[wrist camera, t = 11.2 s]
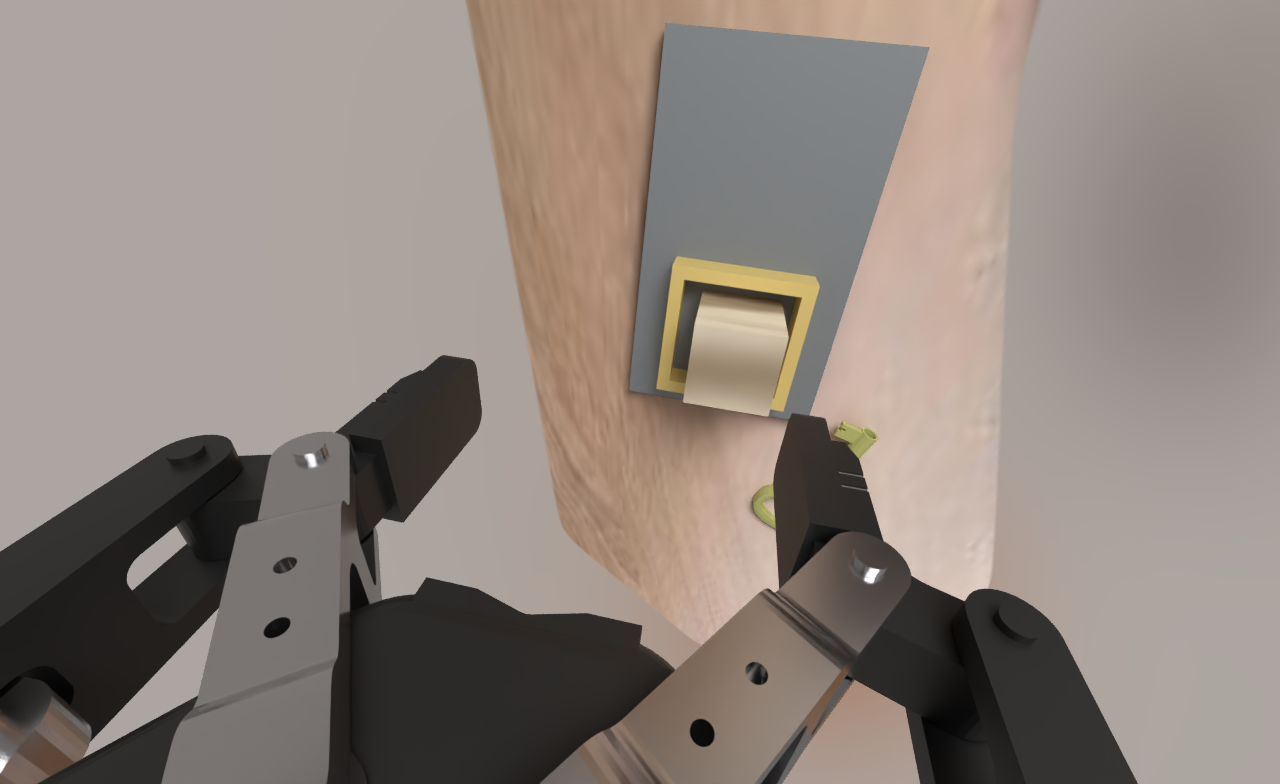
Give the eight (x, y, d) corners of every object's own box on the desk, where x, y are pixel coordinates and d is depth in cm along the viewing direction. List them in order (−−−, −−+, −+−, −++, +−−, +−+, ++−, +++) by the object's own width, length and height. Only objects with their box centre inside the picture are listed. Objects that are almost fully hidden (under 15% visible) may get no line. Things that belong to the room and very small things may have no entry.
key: (876, 416, 35) (883, 433, 33) (831, 537, 41) (835, 557, 39) (774, 401, 36) (775, 416, 34) (746, 522, 42) (745, 540, 40)
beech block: (703, 289, 31) (694, 323, 26) (781, 300, 31) (788, 337, 26) (692, 359, 34) (682, 402, 29) (764, 370, 33) (768, 416, 28)
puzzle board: (667, 26, 26) (659, 16, 23) (923, 49, 24) (943, 42, 22) (631, 384, 37) (623, 404, 34) (805, 415, 36) (810, 438, 33)
